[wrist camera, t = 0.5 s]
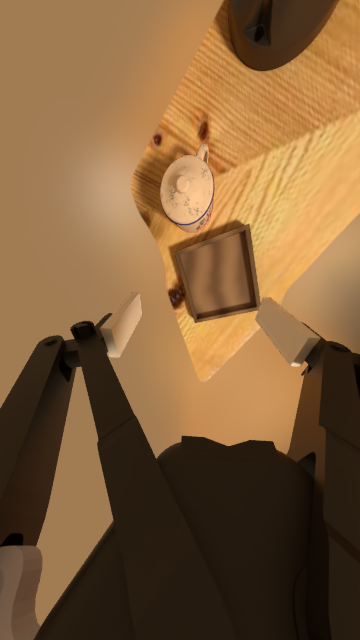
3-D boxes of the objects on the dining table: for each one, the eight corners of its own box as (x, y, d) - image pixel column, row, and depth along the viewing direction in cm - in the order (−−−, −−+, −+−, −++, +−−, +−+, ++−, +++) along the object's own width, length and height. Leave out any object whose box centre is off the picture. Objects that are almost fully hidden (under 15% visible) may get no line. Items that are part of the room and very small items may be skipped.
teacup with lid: (204, 240, 33) (198, 228, 22) (168, 226, 33) (146, 209, 23) (229, 174, 28) (237, 118, 17) (186, 159, 28) (169, 97, 18)
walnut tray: (246, 226, 30) (249, 223, 28) (258, 306, 35) (261, 309, 33) (176, 252, 35) (174, 252, 33) (196, 319, 40) (194, 323, 38)
